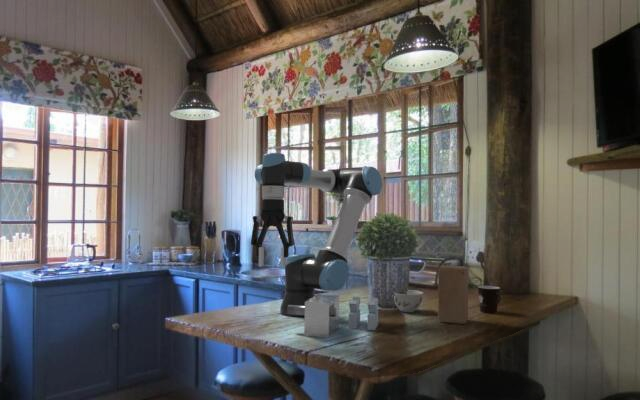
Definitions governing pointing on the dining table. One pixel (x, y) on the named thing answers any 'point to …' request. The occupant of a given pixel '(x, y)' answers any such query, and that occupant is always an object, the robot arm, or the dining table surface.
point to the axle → (301, 310)
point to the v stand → (355, 313)
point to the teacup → (408, 300)
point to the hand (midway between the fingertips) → (272, 266)
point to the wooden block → (453, 294)
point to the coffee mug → (488, 298)
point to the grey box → (321, 315)
